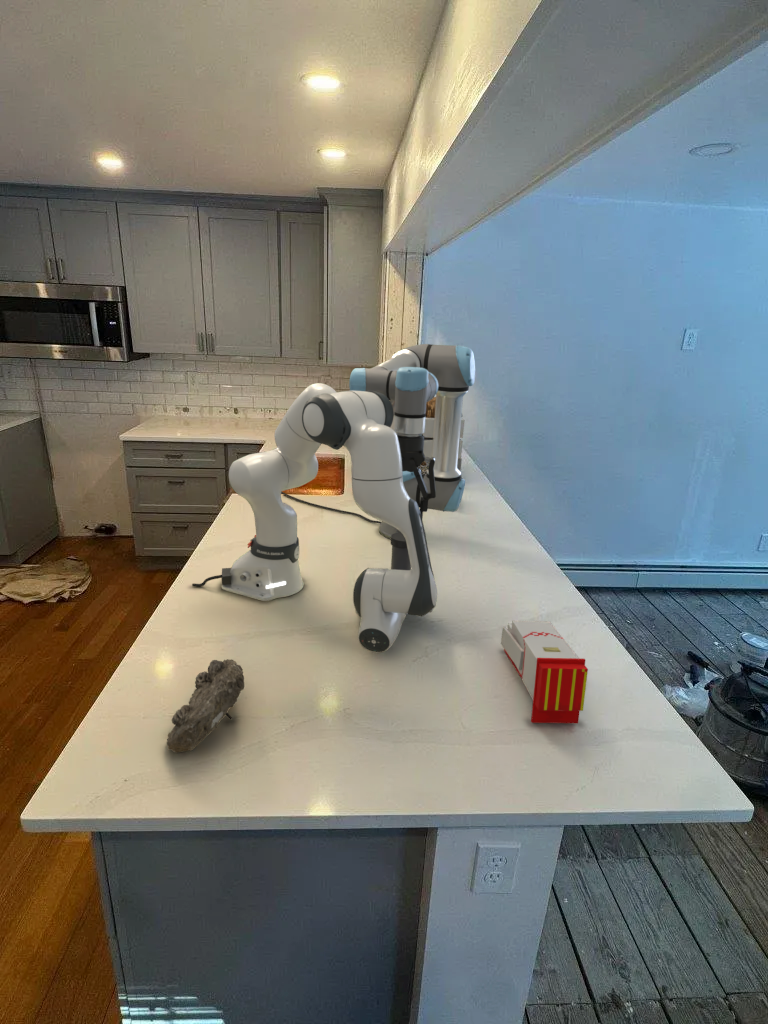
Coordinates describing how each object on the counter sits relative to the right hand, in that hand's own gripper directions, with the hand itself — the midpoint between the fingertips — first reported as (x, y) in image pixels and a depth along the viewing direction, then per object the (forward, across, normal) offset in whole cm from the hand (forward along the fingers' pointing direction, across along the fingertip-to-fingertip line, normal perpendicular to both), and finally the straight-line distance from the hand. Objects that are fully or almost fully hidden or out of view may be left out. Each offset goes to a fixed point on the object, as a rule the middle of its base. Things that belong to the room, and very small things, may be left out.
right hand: (403, 521), depth 144 cm
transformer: (+24, +2, -131) cm, 133 cm away
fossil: (+24, +31, +50) cm, 64 cm away
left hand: (+18, 0, -1) cm, 18 cm away
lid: (+5, 0, 0) cm, 5 cm away
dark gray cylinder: (+24, 0, 0) cm, 24 cm away
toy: (+24, -32, +28) cm, 49 cm away
